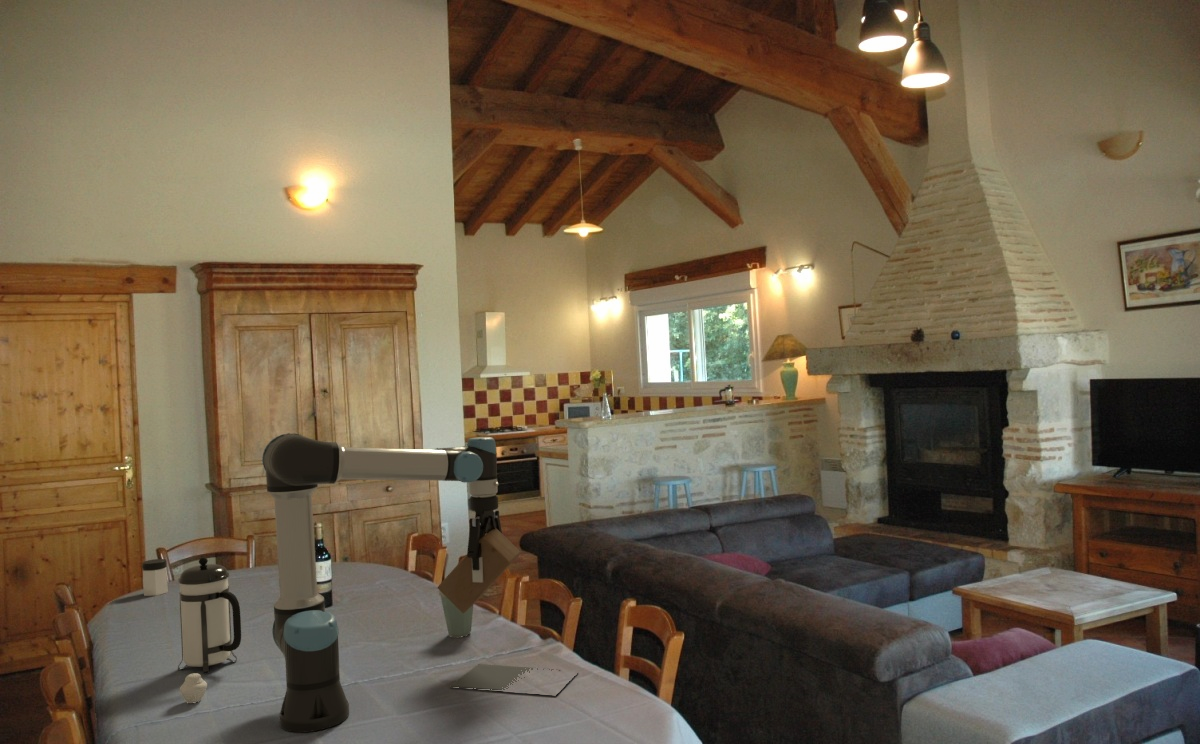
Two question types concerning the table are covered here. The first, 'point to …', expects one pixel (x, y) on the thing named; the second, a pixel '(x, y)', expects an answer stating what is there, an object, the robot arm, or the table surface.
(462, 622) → the disposable coffee cup
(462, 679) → the mat
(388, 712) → the table surface
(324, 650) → the robot arm
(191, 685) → the beige rounded lump
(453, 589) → the wooden block
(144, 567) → the jar
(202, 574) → the coffee press
